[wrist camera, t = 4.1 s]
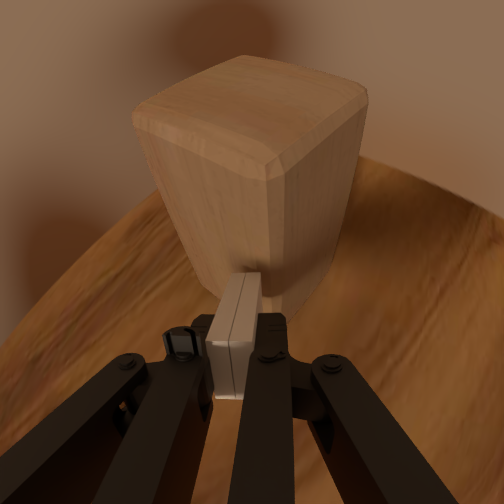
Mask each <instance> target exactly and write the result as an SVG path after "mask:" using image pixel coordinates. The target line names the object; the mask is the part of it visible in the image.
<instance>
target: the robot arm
mask: <svg viewBox="0 0 504 504" xmlns="http://www.w3.org/2000/svg"><path fill="white" fill-rule="evenodd" d="M162 337H163V341H164V345H165V349H166V353H167V355H166V357H165V359H164V361H159V362H152V363H146V362H145V359H144V358H143V356H142V355H139V354H137V353H126V354H123V355H120V356H118V357H116V358H115V359H113V360H112V361H111V362H110V363H109V364H107V365H106V366H105V367H104V368H103V369H102V370H100V371H99V372H98V373H97V374H96V375H95V376H93V377H92V378H91V379H90V380H89V381H88V382H86V383H85V384H84V385H83V386H82V387H81V388H79V389H78V390H77V391H76V392H75V393H74V394H72V395H71V396H70V397H69V398H68V399H67V400H65V401H64V402H63V403H62V404H61V405H60V406H58V407H57V408H56V409H55V410H54V411H53V412H51V413H50V414H49V415H48V416H47V417H46V418H45V419H43V420H42V421H41V422H40V423H39V424H38V425H36V426H35V427H34V428H33V429H32V430H31V431H30V432H28V433H27V434H26V435H25V436H24V437H23V438H21V439H20V440H19V441H18V442H17V443H16V444H15V445H13V446H12V447H11V448H10V449H9V450H8V451H7V452H5V453H4V454H3V455H2V456H1V457H0V504H90V503H91V502H92V501H93V502H92V504H190V503H191V499H192V494H193V490H194V486H195V482H196V478H197V474H198V469H199V465H200V461H201V457H202V453H203V449H204V445H205V440H206V436H207V432H208V428H209V424H210V420H211V415H212V411H213V401H212V395H213V391H214V392H215V397H216V399H243V405H242V412H241V419H240V425H239V432H238V439H237V445H236V452H235V458H234V465H233V471H232V477H231V484H230V490H229V496H228V503H227V504H295V490H294V446H293V418H298V419H303V420H307V422H308V425H309V428H310V430H311V432H312V434H313V437H314V439H315V441H316V443H317V445H318V448H319V450H320V452H321V454H322V457H323V459H324V461H325V463H326V465H327V467H328V470H329V472H330V474H331V476H332V478H333V480H334V483H335V485H336V487H337V489H338V491H339V493H340V496H341V498H342V500H343V502H344V504H458V502H457V501H456V500H455V498H454V497H453V495H452V494H451V493H450V491H449V490H448V489H447V487H446V486H445V485H444V483H443V482H442V481H441V479H440V478H439V477H438V475H437V474H436V473H435V471H434V470H433V469H432V467H431V466H430V465H429V463H428V462H427V461H426V459H425V458H424V457H423V455H422V454H421V453H420V451H419V450H418V449H417V447H416V446H415V445H414V443H413V442H412V441H411V439H410V438H409V437H408V435H407V434H406V433H405V432H404V430H403V429H402V428H401V426H400V425H399V424H398V422H397V421H396V420H395V418H394V417H393V416H392V415H391V413H390V412H389V411H388V409H387V408H386V407H385V405H384V404H383V403H382V401H381V400H380V399H379V398H378V396H377V395H376V394H375V392H374V391H373V390H372V388H371V387H370V386H369V385H368V383H367V382H366V381H365V379H364V378H363V377H362V376H361V374H360V373H359V372H358V370H357V369H356V368H355V366H354V365H353V364H352V363H351V361H349V360H348V359H347V358H346V357H343V356H341V355H335V354H328V355H323V356H320V357H317V358H316V359H315V360H314V361H313V362H312V364H309V363H304V362H300V361H297V360H295V359H294V358H292V357H291V356H290V354H289V352H288V340H287V326H286V317H285V316H284V315H283V314H282V313H281V312H278V313H263V307H262V289H261V272H251V273H231V276H230V278H229V281H228V283H227V286H226V288H225V291H224V294H223V296H222V299H221V301H220V304H219V306H218V309H217V312H216V314H215V315H207V314H201V315H200V316H198V317H197V318H196V319H194V320H193V322H192V324H191V327H188V326H180V327H175V328H171V329H169V330H168V331H166V332H165V333H164V334H163V335H162ZM123 401H124V403H125V405H126V406H125V407H124V408H122V409H120V407H119V405H120V404H121V403H122V402H123ZM292 417H293V418H292Z"/></svg>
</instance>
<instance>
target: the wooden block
mask: <svg viewBox="0 0 504 504" xmlns="http://www.w3.org/2000/svg"><path fill="white" fill-rule="evenodd" d="M367 108H368V94H367V89H366V88H365V87H363V86H362V85H361V84H359V83H357V82H354V81H351V80H348V79H345V78H342V77H339V76H335V75H332V74H328V73H325V72H322V71H318V70H314V69H310V68H306V67H302V66H298V65H294V64H289V63H285V62H280V61H275V60H270V59H264V58H259V57H253V56H247V55H242V56H239V57H236V58H233V59H231V60H229V61H226V62H223V63H221V64H218V65H216V66H214V67H211V68H209V69H207V70H205V71H202V72H200V73H198V74H196V75H194V76H192V77H190V78H187V79H185V80H183V81H181V82H179V83H177V84H176V85H173V86H171V87H170V88H168V89H166V90H164V91H162V92H160V93H158V94H156V95H154V96H153V97H151V98H149V99H147V100H146V101H144V102H142V103H140V104H139V105H138V106H137V107H136V108H135V109H134V110H133V111H132V123H133V126H134V128H135V131H136V134H137V136H138V139H139V142H140V144H141V147H142V149H143V152H144V155H145V157H146V160H147V162H148V164H149V167H150V170H151V172H152V175H153V177H154V179H155V181H156V184H157V187H158V189H159V192H160V194H161V196H162V199H163V201H164V203H165V206H166V208H167V210H168V213H169V215H170V217H171V219H172V222H173V224H174V226H175V229H176V231H177V233H178V235H179V237H180V240H181V242H182V244H183V246H184V248H185V251H186V253H187V255H188V257H189V259H190V261H191V264H192V266H193V268H194V270H195V272H196V274H197V276H198V278H199V280H200V282H201V284H202V285H203V286H204V287H205V288H206V289H208V290H209V291H210V292H211V293H213V294H214V295H215V296H216V297H218V298H219V299H220V300H221V299H222V296H223V294H224V291H225V288H226V286H227V283H228V281H229V278H230V276H231V273H251V272H261V289H262V307H263V313H278V312H281V313H282V314H283V315H284V316H285V317H286V325H287V323H288V322H289V321H290V320H291V318H292V317H293V316H294V315H295V313H296V312H297V311H298V310H299V309H300V307H301V306H302V305H303V304H304V302H305V301H306V300H307V298H308V297H309V296H310V295H311V293H312V292H313V291H314V290H315V288H316V287H317V286H318V284H319V283H320V282H321V280H322V279H323V278H324V277H325V275H326V274H327V273H328V271H329V269H330V266H331V262H332V259H333V256H334V252H335V249H336V245H337V241H338V238H339V234H340V230H341V227H342V223H343V219H344V215H345V211H346V207H347V203H348V199H349V195H350V191H351V187H352V182H353V178H354V174H355V169H356V165H357V160H358V155H359V150H360V145H361V140H362V135H363V129H364V125H365V119H366V113H367Z"/></svg>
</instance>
